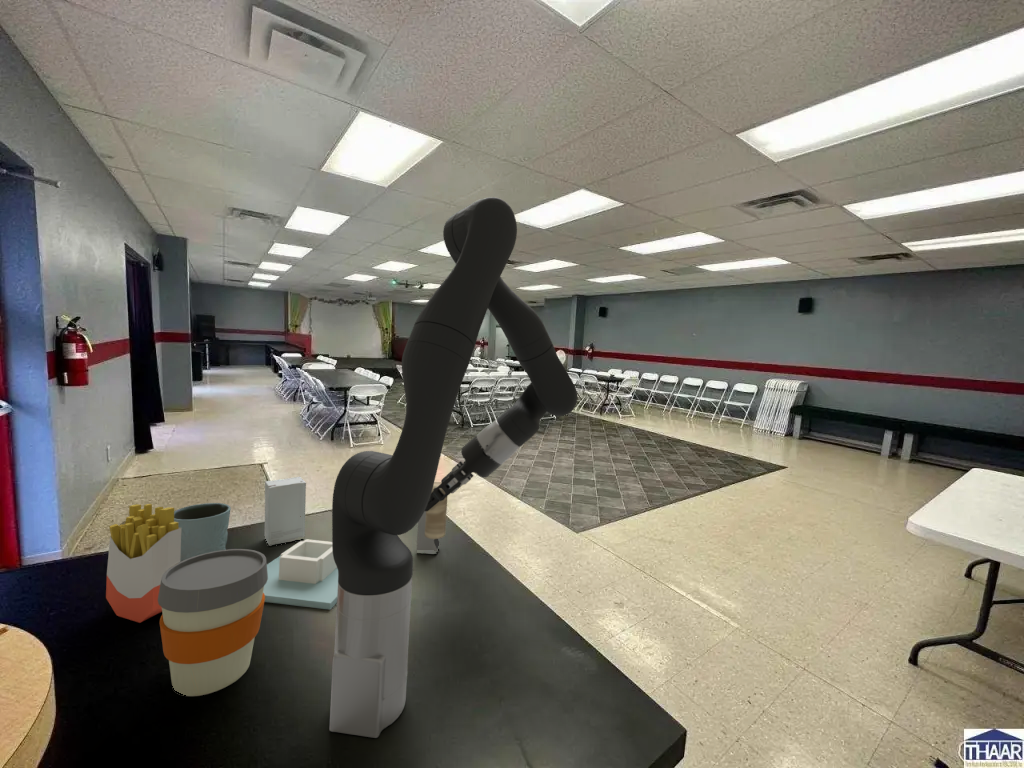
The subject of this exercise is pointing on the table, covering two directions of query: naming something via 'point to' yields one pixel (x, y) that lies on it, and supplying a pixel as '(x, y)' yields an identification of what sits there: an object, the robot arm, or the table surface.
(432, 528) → the maple peg
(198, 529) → the blue embossed cup
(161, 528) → the french fries container
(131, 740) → the table surface
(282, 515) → the skincare box
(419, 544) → the vintage mobile phone
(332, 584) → the sleeve holder
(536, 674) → the table surface
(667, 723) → the table surface
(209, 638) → the reusable coffee cup
